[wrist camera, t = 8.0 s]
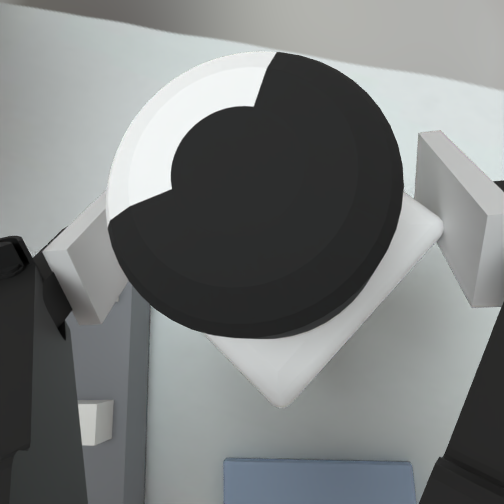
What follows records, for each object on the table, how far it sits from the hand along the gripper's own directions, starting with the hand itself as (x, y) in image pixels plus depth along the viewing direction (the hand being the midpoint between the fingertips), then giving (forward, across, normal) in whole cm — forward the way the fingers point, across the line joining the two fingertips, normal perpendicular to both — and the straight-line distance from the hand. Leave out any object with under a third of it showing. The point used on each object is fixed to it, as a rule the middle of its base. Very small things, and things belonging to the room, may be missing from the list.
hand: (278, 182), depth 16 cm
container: (+2, 0, -6) cm, 6 cm away
